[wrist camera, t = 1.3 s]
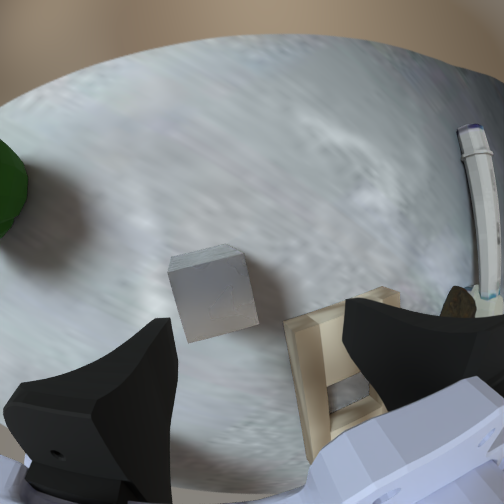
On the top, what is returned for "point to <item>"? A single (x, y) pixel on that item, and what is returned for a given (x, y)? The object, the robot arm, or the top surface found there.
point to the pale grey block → (212, 292)
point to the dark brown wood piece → (459, 304)
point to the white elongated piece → (483, 219)
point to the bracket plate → (327, 371)
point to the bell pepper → (11, 187)
